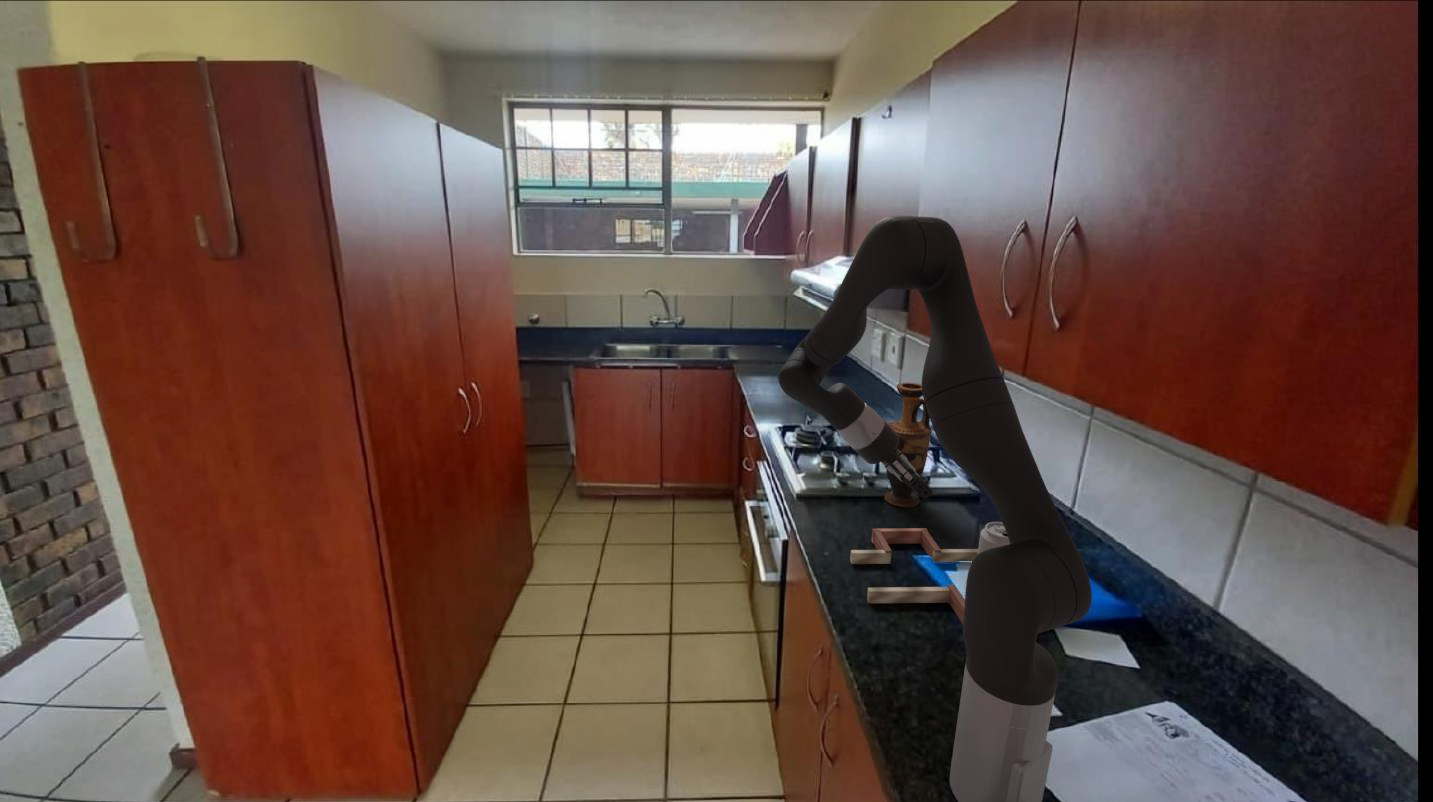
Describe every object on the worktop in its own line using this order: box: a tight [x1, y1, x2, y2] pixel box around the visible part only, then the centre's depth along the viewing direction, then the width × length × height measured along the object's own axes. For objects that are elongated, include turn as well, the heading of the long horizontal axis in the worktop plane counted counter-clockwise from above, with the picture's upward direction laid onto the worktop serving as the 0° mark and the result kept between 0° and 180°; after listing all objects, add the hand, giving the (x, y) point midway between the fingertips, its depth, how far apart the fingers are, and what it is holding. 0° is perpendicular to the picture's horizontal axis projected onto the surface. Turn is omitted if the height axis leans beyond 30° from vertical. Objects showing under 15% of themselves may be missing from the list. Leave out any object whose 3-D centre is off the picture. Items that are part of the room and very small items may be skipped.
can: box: [977, 521, 1010, 554], centre depth 112 cm, size 8×8×12 cm
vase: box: [884, 382, 933, 509], centre depth 144 cm, size 11×11×30 cm
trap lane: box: [849, 527, 978, 625], centre depth 114 cm, size 33×30×3 cm
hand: (927, 494), depth 109 cm, fingers closed
